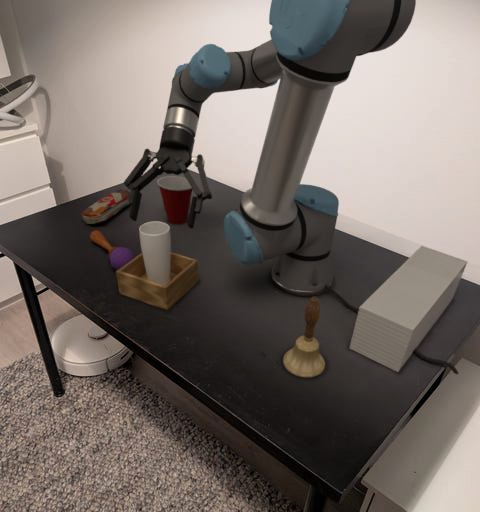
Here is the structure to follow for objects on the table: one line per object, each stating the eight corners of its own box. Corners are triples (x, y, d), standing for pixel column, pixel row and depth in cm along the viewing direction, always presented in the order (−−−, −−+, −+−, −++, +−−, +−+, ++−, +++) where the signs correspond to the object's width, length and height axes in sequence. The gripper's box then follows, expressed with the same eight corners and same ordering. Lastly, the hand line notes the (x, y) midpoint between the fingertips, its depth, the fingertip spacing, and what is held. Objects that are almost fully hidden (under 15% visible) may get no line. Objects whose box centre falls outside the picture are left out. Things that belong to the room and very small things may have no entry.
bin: (198, 281, 111) (197, 260, 107) (167, 310, 101) (165, 288, 98) (152, 267, 115) (150, 245, 112) (119, 293, 106) (115, 271, 102)
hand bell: (329, 377, 87) (344, 311, 77) (286, 378, 86) (296, 312, 76) (320, 348, 93) (332, 283, 83) (280, 349, 93) (288, 284, 83)
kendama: (106, 224, 124) (139, 251, 110) (106, 245, 126) (138, 273, 113) (85, 226, 120) (115, 253, 107) (85, 247, 123) (115, 276, 110)
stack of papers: (398, 372, 89) (413, 330, 82) (349, 348, 94) (359, 306, 87) (452, 300, 109) (467, 261, 102) (409, 283, 114) (421, 245, 107)
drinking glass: (145, 277, 110) (139, 221, 101) (173, 276, 111) (170, 220, 102) (144, 293, 105) (137, 235, 96) (173, 292, 106) (170, 235, 96)
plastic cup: (203, 222, 135) (202, 183, 128) (170, 231, 130) (168, 191, 123) (185, 209, 142) (183, 171, 135) (153, 216, 137) (150, 178, 130)
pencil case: (71, 219, 134) (68, 203, 131) (121, 198, 147) (119, 183, 144) (97, 230, 129) (94, 214, 126) (146, 207, 142) (144, 192, 139)
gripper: (234, 148, 106) (218, 235, 104) (133, 137, 110) (115, 221, 107) (229, 130, 98) (211, 224, 96) (121, 119, 102) (102, 209, 100)
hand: (161, 222), depth 102 cm, fingers open, 13 cm apart
